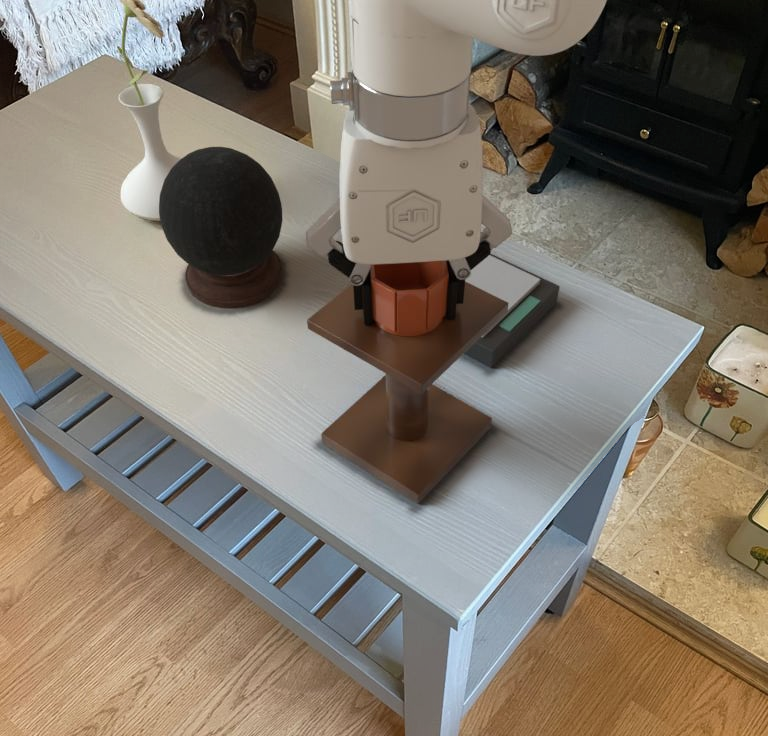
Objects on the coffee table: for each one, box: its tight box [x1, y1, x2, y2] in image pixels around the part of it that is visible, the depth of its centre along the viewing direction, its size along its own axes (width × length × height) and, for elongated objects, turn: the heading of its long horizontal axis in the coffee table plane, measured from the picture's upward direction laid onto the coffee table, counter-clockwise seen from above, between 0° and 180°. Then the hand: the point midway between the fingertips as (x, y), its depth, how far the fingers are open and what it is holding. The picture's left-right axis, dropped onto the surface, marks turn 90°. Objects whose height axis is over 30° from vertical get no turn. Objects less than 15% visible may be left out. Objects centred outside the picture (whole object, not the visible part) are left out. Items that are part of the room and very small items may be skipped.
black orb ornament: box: [159, 146, 283, 309], centre depth 88 cm, size 13×13×15 cm
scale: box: [463, 252, 561, 369], centre depth 89 cm, size 14×13×3 cm
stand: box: [306, 281, 509, 505], centre depth 73 cm, size 12×12×16 cm
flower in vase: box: [116, 0, 183, 222], centre depth 93 cm, size 13×11×25 cm
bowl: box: [370, 260, 449, 336], centre depth 65 cm, size 6×6×4 cm
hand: (408, 309), depth 67 cm, fingers closed on bowl, 6 cm apart
